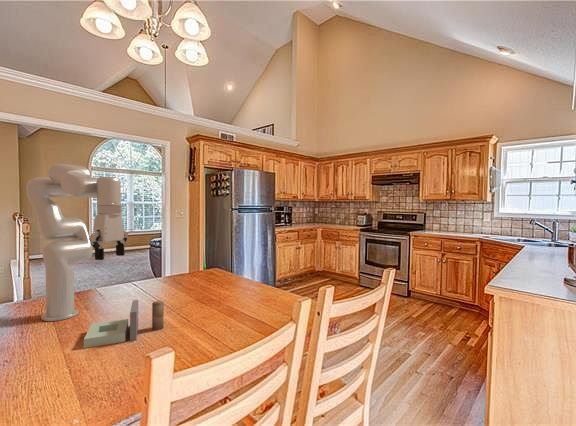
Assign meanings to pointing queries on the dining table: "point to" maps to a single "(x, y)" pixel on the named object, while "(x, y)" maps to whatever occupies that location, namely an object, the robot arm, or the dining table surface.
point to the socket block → (106, 333)
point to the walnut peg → (157, 315)
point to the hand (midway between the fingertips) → (110, 257)
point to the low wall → (134, 320)
